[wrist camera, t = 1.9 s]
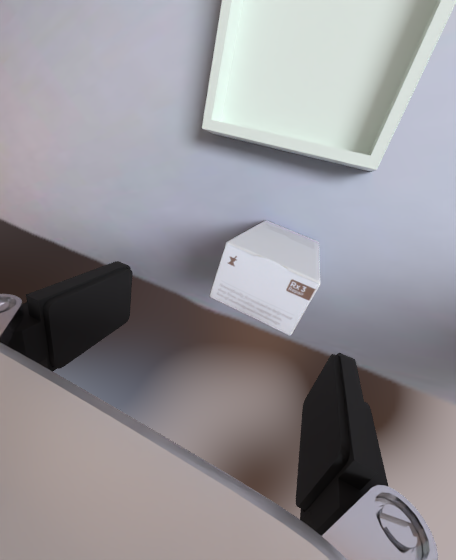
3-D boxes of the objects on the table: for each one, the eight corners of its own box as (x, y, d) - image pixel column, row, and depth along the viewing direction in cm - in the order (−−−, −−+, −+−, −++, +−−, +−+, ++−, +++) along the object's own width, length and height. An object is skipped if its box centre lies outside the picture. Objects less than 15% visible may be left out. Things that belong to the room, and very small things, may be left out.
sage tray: (503, -114, 13) (538, -173, 11) (371, 171, 20) (376, 169, 18) (256, -107, 17) (245, -150, 15) (213, 133, 23) (201, 128, 21)
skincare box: (251, 255, 26) (202, 300, 16) (266, 216, 24) (220, 239, 14) (304, 278, 25) (287, 343, 15) (324, 239, 23) (322, 283, 13)
